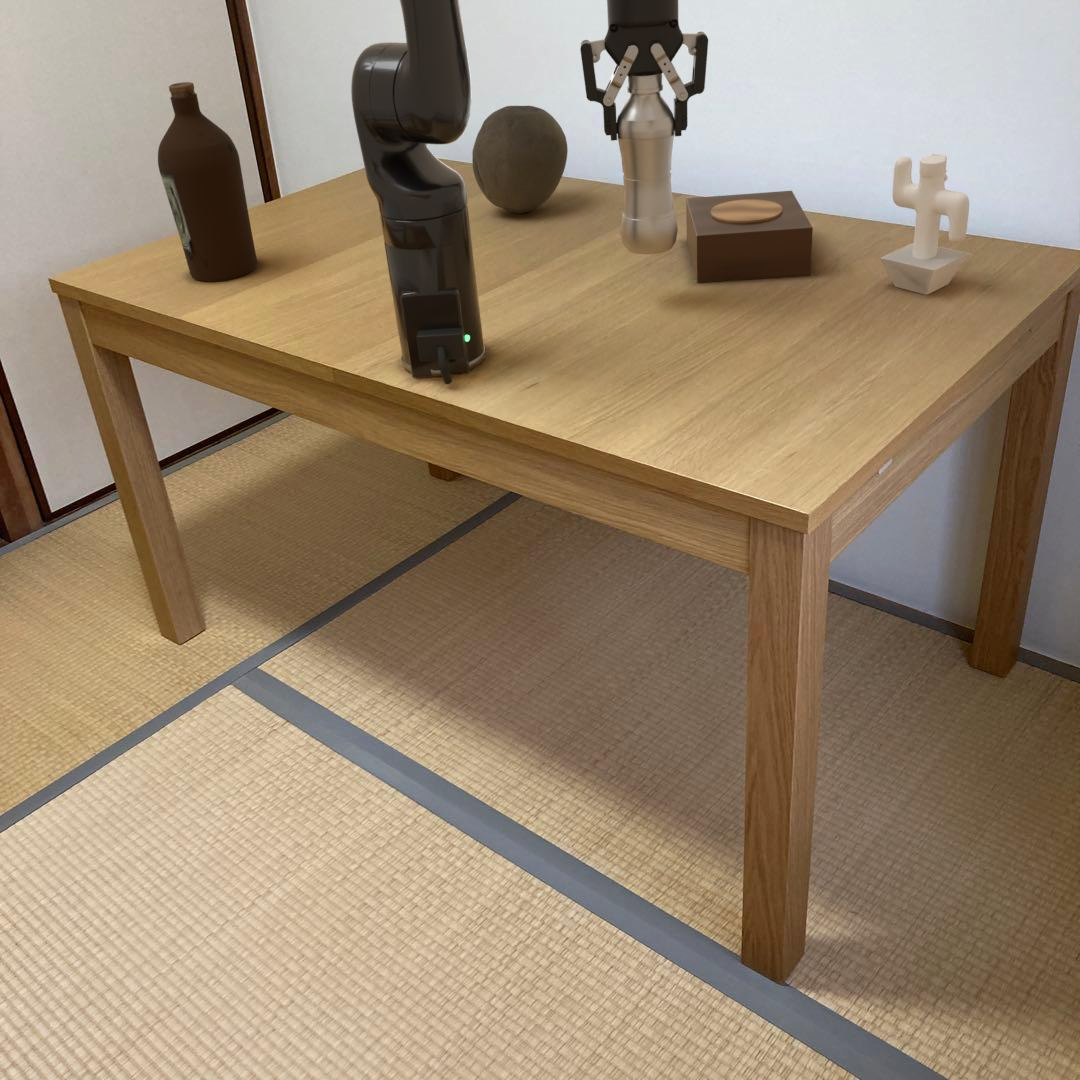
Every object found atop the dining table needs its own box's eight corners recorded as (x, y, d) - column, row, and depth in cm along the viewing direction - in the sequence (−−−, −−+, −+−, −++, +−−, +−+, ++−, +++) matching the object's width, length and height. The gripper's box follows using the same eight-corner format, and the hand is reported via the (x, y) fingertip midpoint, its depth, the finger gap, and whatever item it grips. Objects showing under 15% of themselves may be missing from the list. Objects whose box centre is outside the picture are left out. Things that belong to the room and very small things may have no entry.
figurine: (938, 303, 132) (953, 170, 124) (869, 285, 139) (879, 158, 131) (974, 285, 136) (990, 155, 128) (905, 268, 142) (916, 144, 134)
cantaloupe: (556, 223, 169) (548, 117, 161) (465, 223, 173) (453, 119, 165) (580, 195, 181) (574, 95, 173) (495, 195, 184) (485, 97, 176)
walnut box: (810, 275, 143) (813, 225, 140) (697, 283, 144) (696, 233, 141) (790, 234, 157) (792, 188, 153) (686, 242, 158) (686, 195, 154)
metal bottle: (674, 261, 133) (672, 77, 123) (616, 261, 135) (609, 80, 124) (680, 243, 139) (679, 66, 128) (624, 243, 140) (618, 68, 130)
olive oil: (257, 253, 169) (217, 72, 156) (267, 274, 160) (226, 85, 147) (183, 266, 166) (136, 84, 153) (189, 289, 158) (141, 97, 145)
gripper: (573, -18, 118) (582, 149, 127) (714, -29, 117) (713, 140, 126) (573, -26, 125) (582, 133, 134) (707, -37, 124) (707, 125, 133)
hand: (646, 136), depth 130 cm, fingers closed on metal bottle, 6 cm apart
